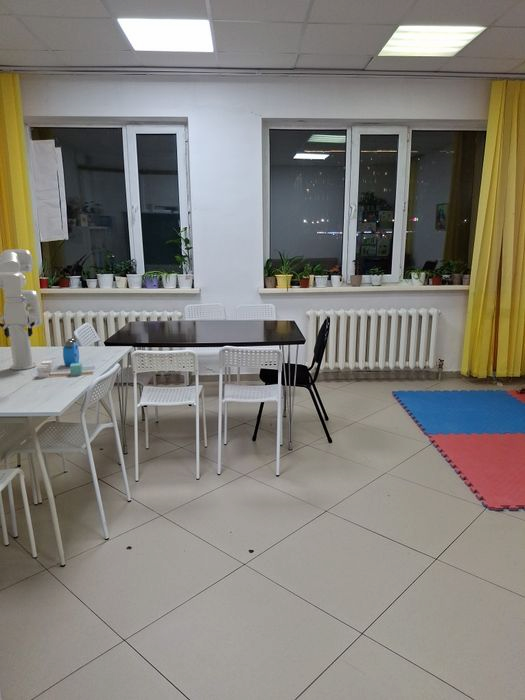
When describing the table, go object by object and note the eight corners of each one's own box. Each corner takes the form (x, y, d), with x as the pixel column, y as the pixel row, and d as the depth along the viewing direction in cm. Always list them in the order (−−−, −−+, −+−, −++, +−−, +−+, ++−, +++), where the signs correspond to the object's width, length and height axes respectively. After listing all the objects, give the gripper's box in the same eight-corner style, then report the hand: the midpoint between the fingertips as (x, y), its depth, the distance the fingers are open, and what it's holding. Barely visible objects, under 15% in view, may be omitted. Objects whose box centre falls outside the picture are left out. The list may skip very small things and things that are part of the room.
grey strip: (44, 371, 247) (42, 360, 246) (95, 368, 253) (94, 357, 252) (41, 374, 240) (40, 363, 239) (94, 371, 247) (93, 360, 245)
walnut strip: (40, 376, 237) (39, 365, 236) (93, 372, 244) (93, 361, 242) (37, 380, 231) (36, 368, 230) (92, 376, 237) (91, 365, 236)
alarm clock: (69, 363, 264) (66, 337, 261) (80, 362, 265) (78, 336, 262) (64, 369, 252) (61, 342, 248) (76, 368, 253) (73, 341, 250)
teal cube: (72, 372, 240) (71, 363, 239) (82, 372, 241) (81, 362, 240) (70, 375, 235) (69, 366, 234) (81, 374, 237) (80, 365, 235)
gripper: (36, 298, 221) (40, 334, 225) (-4, 300, 217) (1, 335, 221) (32, 300, 214) (36, 337, 218) (-9, 301, 210) (-4, 338, 214)
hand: (19, 336), depth 220 cm, fingers open, 9 cm apart
